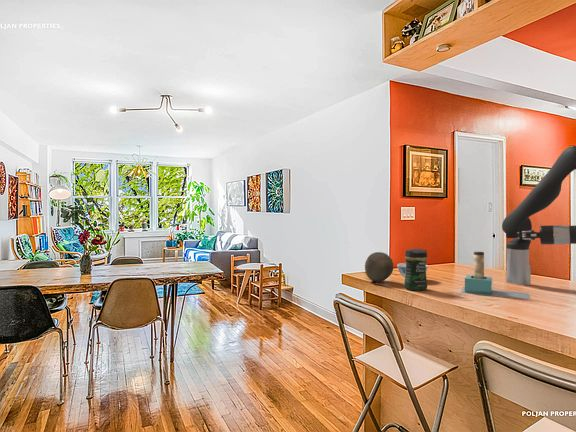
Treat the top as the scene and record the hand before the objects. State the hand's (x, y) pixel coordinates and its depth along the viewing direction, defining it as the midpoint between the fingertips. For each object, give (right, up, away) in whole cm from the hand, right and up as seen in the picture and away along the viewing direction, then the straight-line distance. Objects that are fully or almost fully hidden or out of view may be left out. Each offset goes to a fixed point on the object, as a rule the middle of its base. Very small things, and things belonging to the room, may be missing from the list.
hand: (507, 235), depth 155 cm
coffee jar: (-33, -26, +15) cm, 44 cm away
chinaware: (-27, -25, +37) cm, 53 cm away
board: (-4, -26, +2) cm, 26 cm away
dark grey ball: (-46, -25, +33) cm, 62 cm away
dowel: (-9, -23, +5) cm, 26 cm away
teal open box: (-9, -25, +5) cm, 28 cm away
